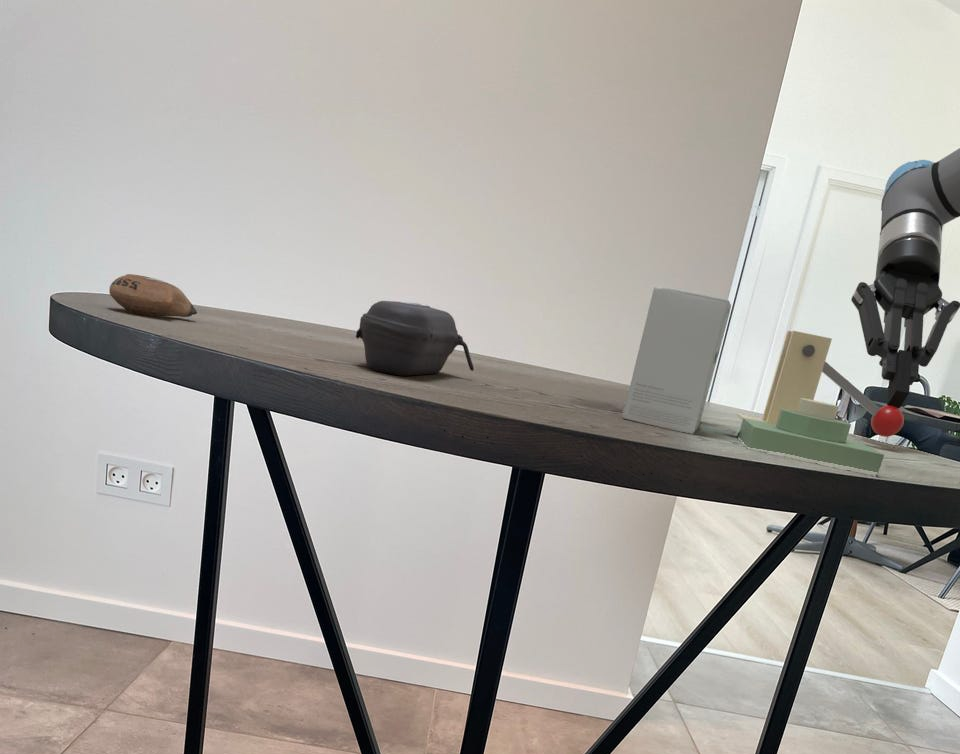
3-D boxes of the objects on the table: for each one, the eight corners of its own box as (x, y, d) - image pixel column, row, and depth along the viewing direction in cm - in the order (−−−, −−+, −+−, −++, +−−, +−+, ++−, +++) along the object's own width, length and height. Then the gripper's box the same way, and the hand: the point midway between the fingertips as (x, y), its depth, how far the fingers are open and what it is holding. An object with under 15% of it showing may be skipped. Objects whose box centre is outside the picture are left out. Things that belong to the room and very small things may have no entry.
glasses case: (379, 349, 107) (414, 285, 104) (457, 402, 107) (494, 340, 104) (323, 348, 90) (364, 272, 87) (417, 411, 90) (460, 337, 87)
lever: (883, 441, 116) (906, 417, 115) (891, 444, 113) (914, 420, 111) (782, 354, 115) (804, 329, 114) (786, 355, 111) (809, 329, 110)
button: (829, 422, 94) (835, 404, 93) (836, 426, 90) (842, 407, 90) (792, 414, 94) (798, 396, 94) (798, 417, 91) (804, 399, 90)
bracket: (815, 440, 119) (845, 342, 115) (827, 447, 112) (859, 343, 108) (735, 423, 120) (762, 326, 116) (741, 429, 113) (771, 325, 109)
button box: (854, 463, 98) (866, 424, 96) (876, 477, 88) (891, 434, 87) (737, 438, 99) (748, 399, 97) (747, 450, 89) (759, 406, 88)
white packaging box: (694, 435, 92) (730, 299, 88) (620, 419, 94) (652, 284, 90) (700, 430, 99) (733, 303, 95) (630, 415, 101) (660, 289, 97)
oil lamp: (193, 333, 100) (193, 328, 108) (202, 295, 99) (201, 292, 106) (103, 305, 97) (109, 302, 104) (111, 265, 96) (117, 264, 103)
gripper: (946, 292, 126) (939, 431, 116) (846, 273, 127) (831, 408, 117) (974, 246, 119) (969, 389, 109) (868, 226, 120) (854, 366, 110)
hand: (897, 399), depth 113 cm, fingers closed
